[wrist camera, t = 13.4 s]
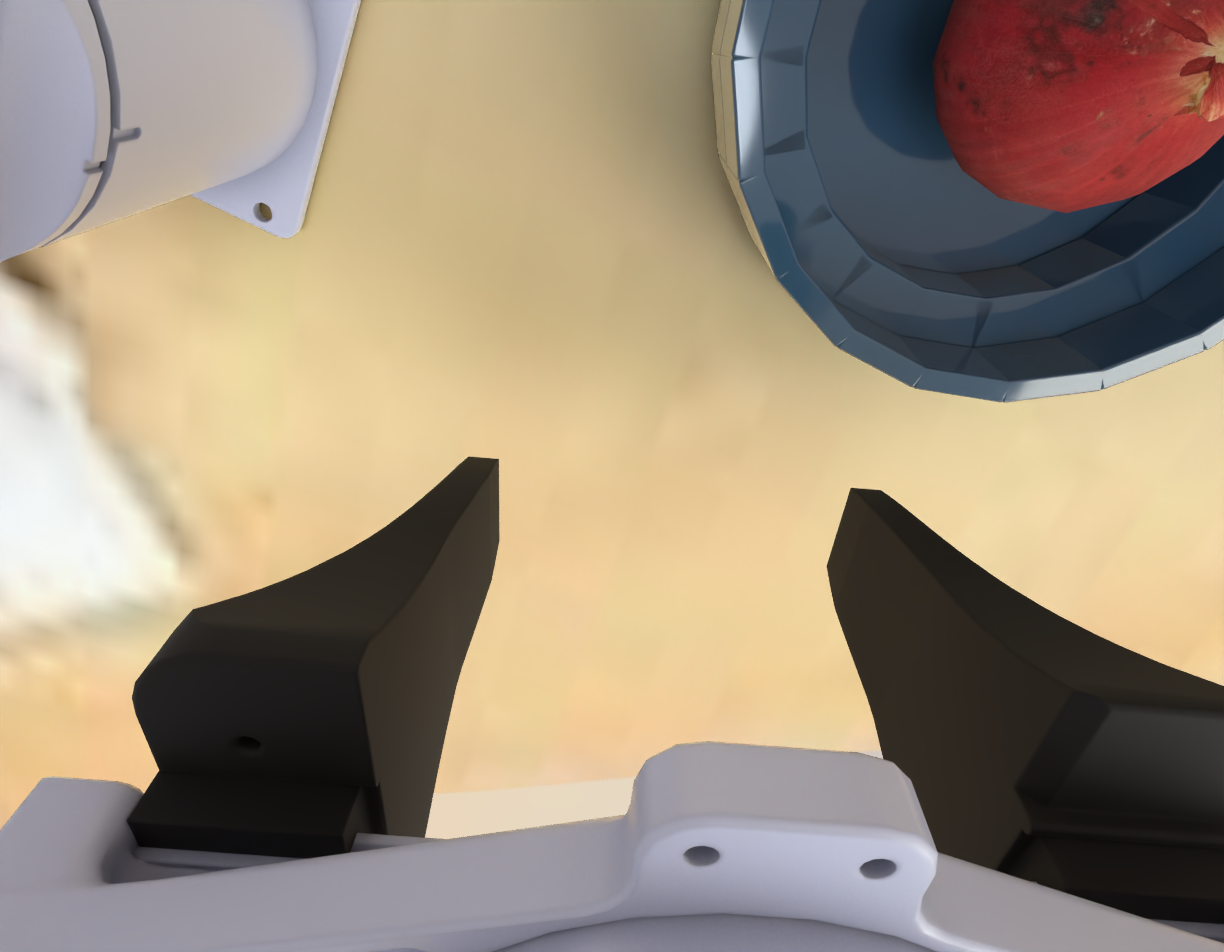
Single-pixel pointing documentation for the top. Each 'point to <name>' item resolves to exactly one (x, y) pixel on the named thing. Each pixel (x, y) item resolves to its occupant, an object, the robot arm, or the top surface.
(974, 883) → the robot arm
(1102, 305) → the bowl
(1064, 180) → the pomegranate
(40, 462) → the top surface
